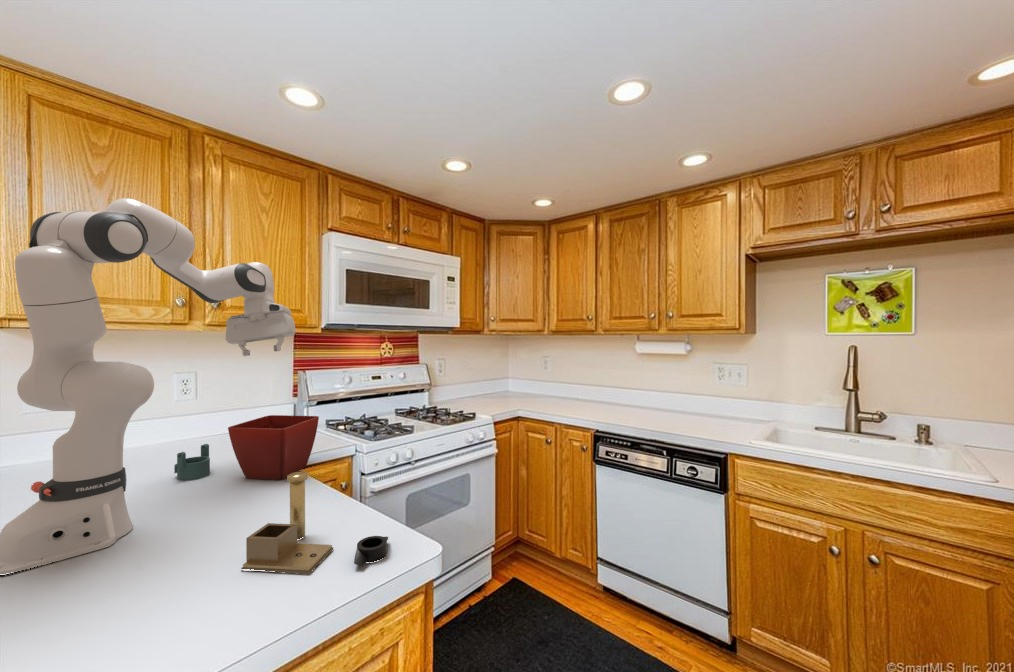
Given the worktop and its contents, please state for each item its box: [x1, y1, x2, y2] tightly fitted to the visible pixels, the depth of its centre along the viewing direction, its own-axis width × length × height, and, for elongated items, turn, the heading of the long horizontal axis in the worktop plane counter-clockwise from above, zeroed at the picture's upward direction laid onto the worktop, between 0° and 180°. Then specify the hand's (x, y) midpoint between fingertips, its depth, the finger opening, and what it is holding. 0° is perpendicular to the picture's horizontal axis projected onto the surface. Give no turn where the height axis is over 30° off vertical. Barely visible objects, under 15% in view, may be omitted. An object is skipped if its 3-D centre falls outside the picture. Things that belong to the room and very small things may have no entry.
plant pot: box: [227, 414, 320, 481], centre depth 136 cm, size 19×19×17 cm
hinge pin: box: [286, 471, 308, 539], centre depth 93 cm, size 4×4×14 cm
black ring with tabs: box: [353, 535, 389, 567], centre depth 86 cm, size 8×10×3 cm
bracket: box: [174, 443, 211, 482], centre depth 133 cm, size 9×9×9 cm
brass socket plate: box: [240, 522, 334, 575], centre depth 84 cm, size 9×14×6 cm, turn 85°
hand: (261, 353), depth 134 cm, fingers open, 8 cm apart
